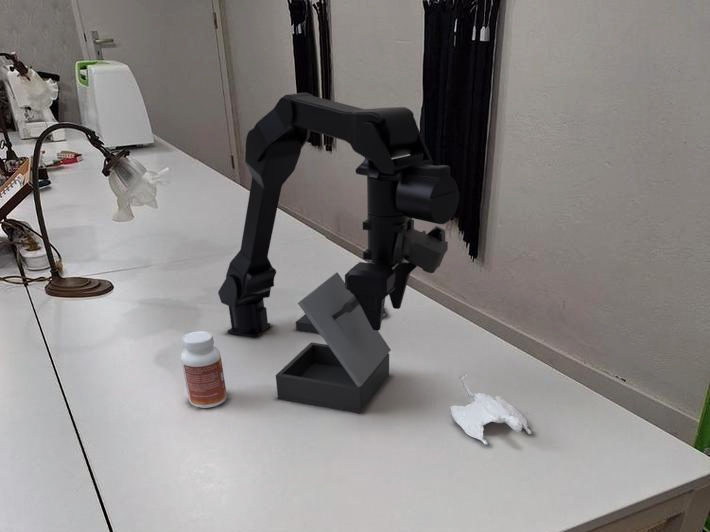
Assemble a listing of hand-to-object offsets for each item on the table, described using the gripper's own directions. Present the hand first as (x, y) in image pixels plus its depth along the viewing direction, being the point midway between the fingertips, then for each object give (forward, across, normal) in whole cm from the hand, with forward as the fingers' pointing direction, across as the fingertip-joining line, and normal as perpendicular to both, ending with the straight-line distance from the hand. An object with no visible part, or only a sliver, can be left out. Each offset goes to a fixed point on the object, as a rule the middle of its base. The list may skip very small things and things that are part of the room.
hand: (386, 318), depth 100 cm
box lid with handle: (+2, -1, +6) cm, 7 cm away
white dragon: (+13, -3, -17) cm, 22 cm away
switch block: (+13, +23, +21) cm, 33 cm away
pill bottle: (+13, -12, +27) cm, 32 cm away
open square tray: (+13, -1, +9) cm, 15 cm away
